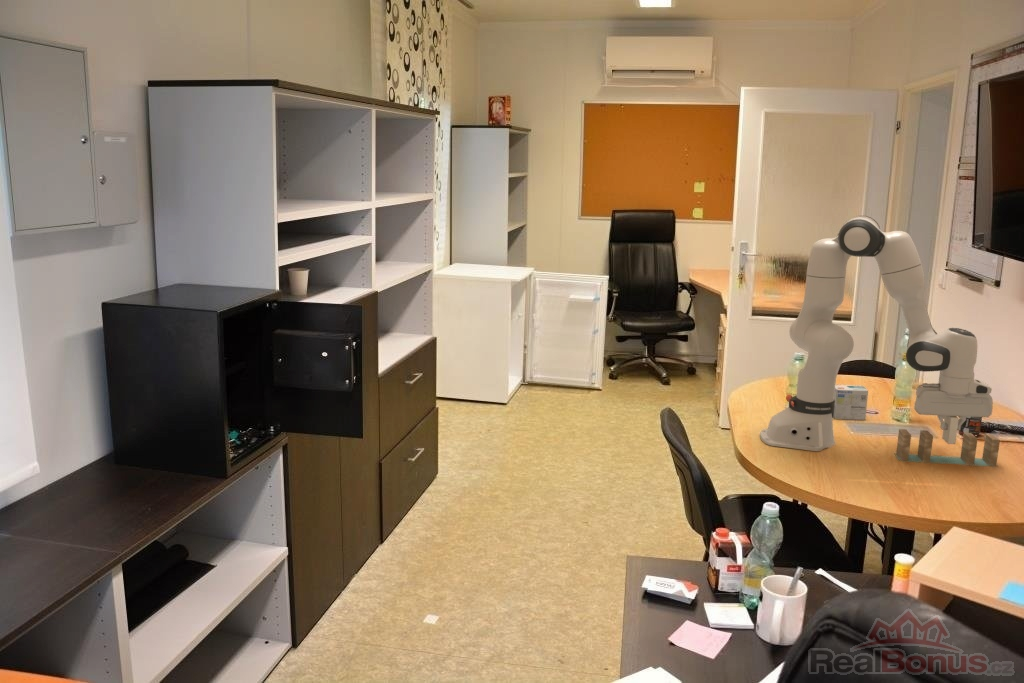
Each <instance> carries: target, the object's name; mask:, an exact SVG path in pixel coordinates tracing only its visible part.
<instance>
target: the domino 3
mask: <svg viewBox="0 0 1024 683" xmlns="http://www.w3.org/2000/svg"><path fill="white" fill-rule="evenodd" d="M959 419H960V418H959V417H958V416H945V419H943V421H944V423H947V424H948V427H947V428H948V430H942V437H941V439H942V440H943V441H945V443H946V444H947V445H956V444H957V443H956V442H957V435H958V430H957V428H958V420H959Z"/></svg>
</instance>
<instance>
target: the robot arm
mask: <svg viewBox="0 0 1024 683" xmlns="http://www.w3.org/2000/svg"><path fill="white" fill-rule="evenodd" d="M809 253H810V254H809V256H808V262H807V268H806V278H805V287H804V288H805V289H804V296H803V297H804V298H803V302H802V305H801V308H800V311H799V314H798V316H797V318H795V319H794V320H793V321H792V323H791V325H790V327H789V336H790V339H791V341H793V343H794V344H795V345H796V346H797V347H798V348H799V349H801V350H803V351H806V352H807V359H806V362H805V365H804V367H803V368H802V369H800V370H799V371H798V374H797V384H796V394H795V395H794V396H792V394H787V395H786V396H785V399H786V402H788V406H787V408H784V409H783V410H781V411H779V412H778V413H776V414H774V415H773V416H772V417H771V418H770V420H769V423H768V426H767V428H762V430H760V434H759V437H760V440H761V441H762V442H763V443H764V444H765V445H768V446H770V447H771V446H772V447H778V448H779V447H780V448H788V449H794V450H795V449H796V450H805V451H813V452H821V451H823V450H824V449H828V448H832V447H834V446H835V445H836V441H835V436H834V423H833V422H834V420H833V419H834V418H833V417H834V412H835V400H834V392H835V385H837V384H836V382H837V376H838V373H839V370H840V368H841V366H842V363H843V361H844V360H846V359H848V358H849V357H850V356H851V355H852V352H853V350H854V345H855V342H854V339H853V336H852V335H851V333H850V332H849V331H848V330H846V329H845V328H844V327H843V326H841V325H838V324H837V323H833V319H834V315H835V312H836V310H837V309H838V307H840V306H841V305H842V304H843V301H844V299H845V298H844V297H845V289H846V288H845V286H846V285H845V284H846V276H847V275H846V274H847V266H848V261H849V259H850V258H851V257H856V258H858V257H866V258H867V257H871V258H873V257H874V258H875V261H876V263H877V265H878V269H879V272H880V277H881V279H882V282H883V285H884V286H885V289H886V291H887V293H888V295H889V296H890V297H891V298H893V299H894V300H895V301H896V302H898V304H899V306H900V307H901V310H902V312H903V316H904V319H905V323H906V325H907V329H908V335H909V336H908V340H907V344H906V345H907V348H906V352H905V359H906V362H907V364H908V366H910V367H911V368H912V369H913V370H915V371H918V372H924V373H925V372H939V376H938V382H937V383H934V382H933V383H927V382H926V383H925V382H924V383H922V384H920V385H918V386H917V387H916V391H915V395H916V397H915V398H916V399H915V401H914V406H913V407H914V408H913V409H914V411H915V412H916V413H917V414H918V415H921V416H923V415H924V416H937V419H938V421H939V422H940V426H939V427H940V430H942V431H943V430H948V428H947V427H948V424H947V423H944V419H945V416H957V417H958V418H959V420H958V428H957V432H959V431H960V429H961V425H962V424H963V423H964V422H965V420H966V417H982V418H989V417H991V416H992V415H993V408H994V406H993V404H994V402H993V401H994V400H993V397H992V395H991V394H992V387H991V386H990V385H989V384H987V383H985V382H984V381H982V380H978V379H977V378H976V379H975V370H974V368H975V366H976V363H977V357H978V339H977V336H975V334H974V333H973V332H971V331H969V330H966V329H963V328H960V327H949V328H948V329H946V330H944V331H942V332H939V333H937V332H936V330H935V329H934V327H933V326H932V323H931V320H930V316H929V313H928V308H927V306H926V302H925V291H926V279H925V273H924V268H923V264H922V260H921V257H920V255H919V254H920V253H919V252H918V248H917V246H916V244H915V243H914V241H913V239H912V237H911V235H910V234H909V233H908V232H905V231H904V230H903V231H902V230H893V231H887V232H884V231H882V230H881V228H880V225H879V223H878V222H877V221H876V220H875V219H874V218H873V217H871V216H868V215H856V216H853V217H852V218H850V219H848V220H846V221H845V223H843V224H842V226H841V228H840V229H839V232H838V233H837V235H835V237H827V238H822V239H819V240H817V241H815V242H814V243H813V244H812V246H811V250H810V252H809Z"/></svg>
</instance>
